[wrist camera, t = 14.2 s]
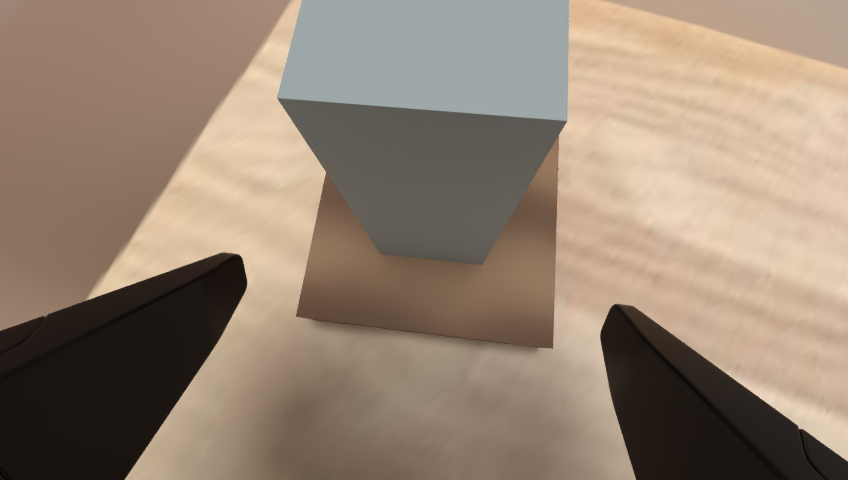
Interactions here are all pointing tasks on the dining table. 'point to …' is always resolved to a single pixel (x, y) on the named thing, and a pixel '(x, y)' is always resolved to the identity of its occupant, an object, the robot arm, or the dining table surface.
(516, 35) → the slate post
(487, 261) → the walnut board
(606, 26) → the dining table surface
